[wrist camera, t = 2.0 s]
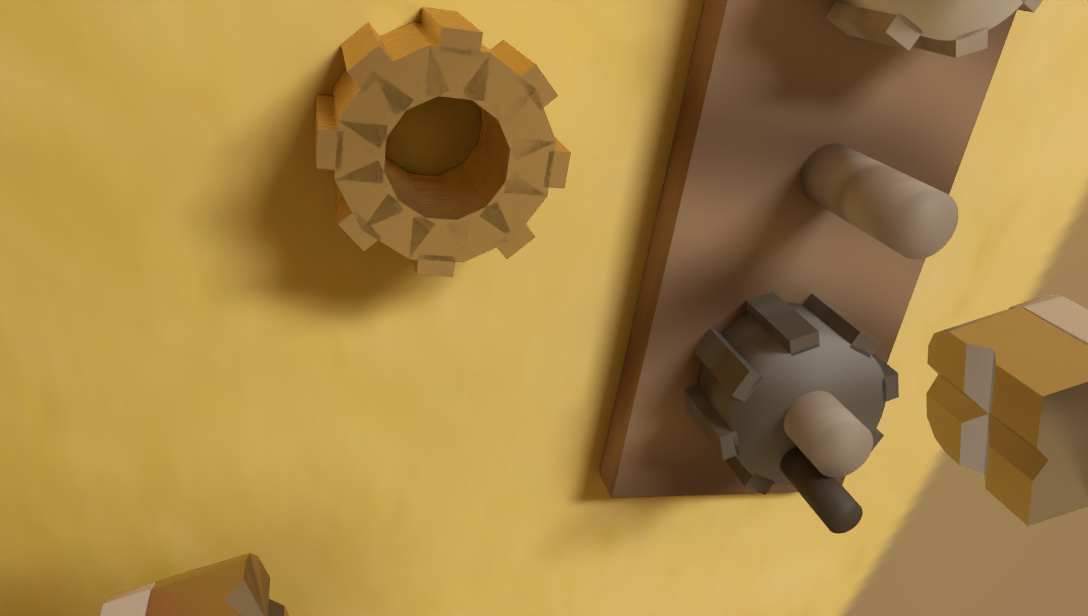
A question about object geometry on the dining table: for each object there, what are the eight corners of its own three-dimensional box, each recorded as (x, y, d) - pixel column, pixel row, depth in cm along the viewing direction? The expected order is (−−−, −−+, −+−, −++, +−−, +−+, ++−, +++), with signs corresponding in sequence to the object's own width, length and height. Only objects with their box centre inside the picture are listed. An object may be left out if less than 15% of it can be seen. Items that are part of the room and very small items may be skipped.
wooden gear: (517, 231, 27) (548, 281, 24) (311, 218, 25) (311, 270, 22) (549, 24, 25) (589, 46, 21) (321, -8, 23) (323, 11, 19)
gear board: (820, 468, 35) (935, 597, 29) (599, 473, 33) (672, 618, 26) (1072, -249, 25) (1343, -299, 18) (779, -335, 22) (977, -430, 16)
